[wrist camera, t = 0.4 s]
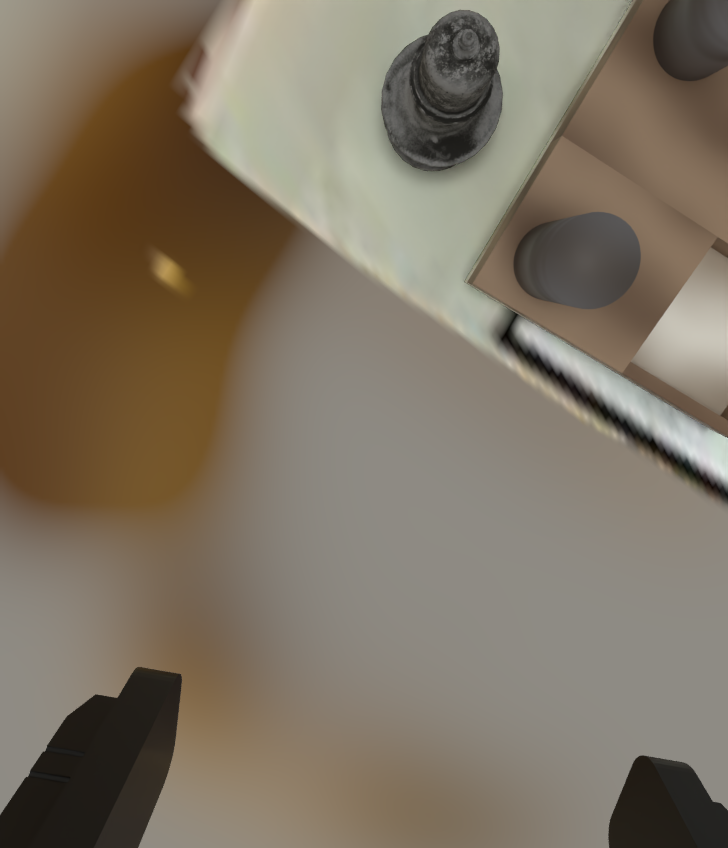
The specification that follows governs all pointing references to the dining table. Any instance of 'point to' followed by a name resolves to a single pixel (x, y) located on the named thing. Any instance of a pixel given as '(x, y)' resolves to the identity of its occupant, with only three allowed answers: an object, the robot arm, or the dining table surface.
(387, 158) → the dining table surface
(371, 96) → the dining table surface
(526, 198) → the wooden peg stand
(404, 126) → the grey chess piece
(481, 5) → the dining table surface
